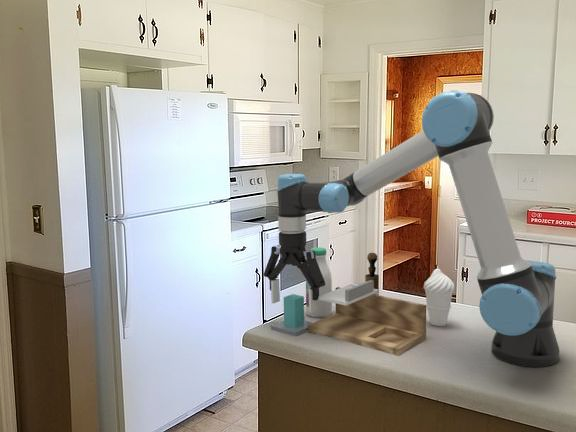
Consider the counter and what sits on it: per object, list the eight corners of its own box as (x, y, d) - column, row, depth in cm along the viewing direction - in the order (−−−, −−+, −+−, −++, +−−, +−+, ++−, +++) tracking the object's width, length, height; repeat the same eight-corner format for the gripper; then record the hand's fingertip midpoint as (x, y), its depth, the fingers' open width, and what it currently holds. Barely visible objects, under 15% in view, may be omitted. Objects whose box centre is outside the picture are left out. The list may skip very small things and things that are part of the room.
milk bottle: (332, 310, 174) (331, 245, 171) (331, 318, 167) (331, 251, 164) (307, 309, 175) (306, 245, 172) (305, 317, 167) (304, 251, 164)
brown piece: (425, 340, 148) (426, 305, 147) (398, 357, 138) (398, 319, 136) (338, 318, 166) (337, 287, 165) (308, 331, 156) (307, 298, 154)
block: (304, 324, 159) (303, 296, 158) (295, 328, 156) (294, 299, 155) (293, 321, 162) (292, 293, 160) (284, 325, 159) (283, 297, 158)
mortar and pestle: (357, 309, 175) (357, 251, 172) (376, 306, 177) (377, 249, 174) (367, 315, 169) (367, 256, 166) (386, 313, 170) (387, 254, 168)
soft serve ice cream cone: (459, 327, 157) (461, 270, 155) (434, 331, 154) (435, 274, 152) (441, 318, 165) (442, 264, 163) (416, 322, 162) (417, 267, 160)
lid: (377, 317, 159) (378, 278, 157) (346, 332, 147) (346, 291, 146) (350, 311, 164) (350, 273, 163) (318, 325, 153) (318, 285, 151)
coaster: (316, 327, 160) (316, 323, 159) (296, 336, 153) (295, 332, 153) (292, 320, 165) (292, 317, 165) (271, 329, 159) (271, 325, 158)
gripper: (337, 233, 150) (338, 311, 153) (268, 225, 166) (269, 295, 169) (320, 238, 144) (321, 318, 147) (249, 228, 160) (252, 301, 163)
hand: (293, 306), depth 158 cm, fingers open, 13 cm apart
